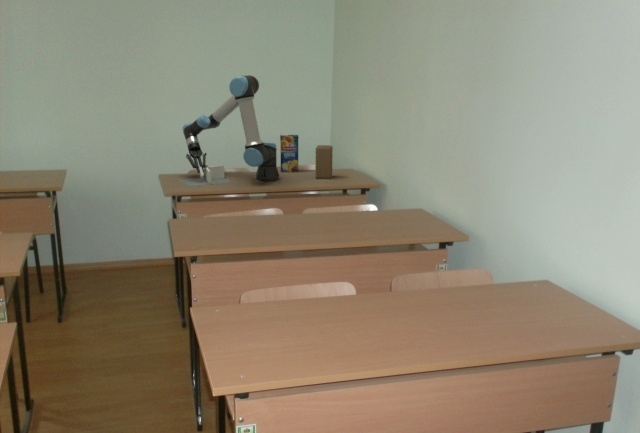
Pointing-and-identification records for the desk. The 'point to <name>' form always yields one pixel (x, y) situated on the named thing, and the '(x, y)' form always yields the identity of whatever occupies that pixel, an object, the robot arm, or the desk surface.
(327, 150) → the wooden block
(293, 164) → the juice carton
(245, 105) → the robot arm
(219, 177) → the fence
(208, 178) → the hinged panel
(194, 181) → the card
